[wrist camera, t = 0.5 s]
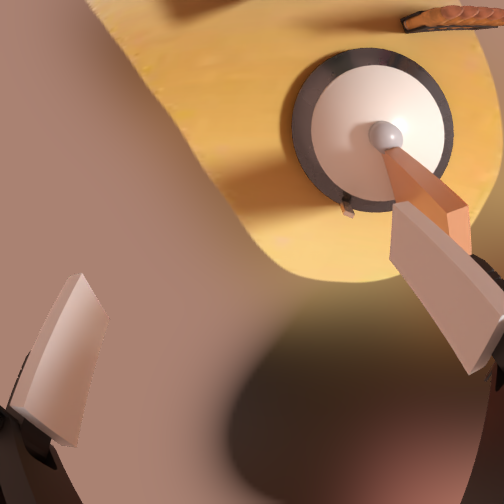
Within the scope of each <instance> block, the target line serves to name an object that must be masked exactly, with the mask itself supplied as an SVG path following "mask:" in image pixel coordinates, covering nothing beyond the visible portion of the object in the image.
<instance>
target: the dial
mask: <svg viewBox="0 0 504 504" xmlns="http://www.w3.org/2000/svg"><path fill="white" fill-rule="evenodd" d="M311 136H312V143H313V147H314V151H315V154H316V156H317V159H318V161H319V163H320V165H321V167H322V169H323V170H324V171H325V173H326V174H327V176H328V177H329V178H330V179H331V180H332V181H333V182H334V183H335V184H336V185H337V186H338V187H340V188H341V189H343V190H344V191H346V192H347V193H349V194H351V195H353V196H356V197H358V198H361V199H365V200H370V201H390V200H395V201H396V203H400V202H405V201H409V202H410V203H411V204H412V205H414V206H415V207H416V208H417V209H418V210H420V211H421V212H422V213H423V214H424V215H426V216H427V217H428V218H429V219H430V220H431V221H433V222H434V223H435V224H436V225H437V226H438V227H439V228H441V229H442V230H443V231H444V232H445V233H446V234H447V235H448V236H449V237H450V238H452V239H453V240H454V241H455V242H456V243H457V244H458V245H459V246H460V247H461V248H462V249H463V250H464V251H465V252H466V253H467V254H468V255H472V254H471V232H470V218H469V208H468V205H467V204H466V203H465V202H464V201H463V200H462V199H461V198H460V197H459V196H458V195H457V194H456V193H454V192H453V191H452V190H451V189H450V188H449V187H448V186H447V185H446V184H444V183H443V182H442V181H441V180H440V179H439V178H437V177H436V176H435V175H434V174H433V173H434V171H435V169H436V168H437V166H438V163H439V161H440V159H441V155H442V152H443V147H444V125H443V120H442V116H441V113H440V110H439V108H438V106H437V104H436V102H435V100H434V98H433V97H432V95H431V94H430V92H429V91H428V90H427V89H426V88H425V87H424V86H423V85H422V84H421V83H420V82H419V81H418V80H417V79H415V78H414V77H412V76H411V75H409V74H407V73H405V72H403V71H401V70H399V69H396V68H393V67H388V66H381V65H370V66H362V67H358V68H354V69H351V70H349V71H346V72H344V73H343V74H341V75H339V76H338V77H336V78H335V79H334V80H333V81H332V82H330V84H329V85H328V86H327V87H326V88H325V89H324V91H323V92H322V94H321V95H320V97H319V99H318V101H317V103H316V105H315V108H314V111H313V116H312V121H311Z"/></svg>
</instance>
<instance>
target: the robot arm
mask: <svg viewBox="0 0 504 504" xmlns="http://www.w3.org/2000/svg"><path fill="white" fill-rule="evenodd" d="M389 260H390V261H391V262H392V263H393V265H394V266H395V267H396V269H397V270H398V271H399V272H400V274H401V275H402V276H403V278H404V279H405V280H406V282H407V283H408V284H409V286H410V287H411V289H412V290H413V291H414V292H415V294H416V295H417V297H418V298H419V300H420V301H421V302H422V304H423V305H424V306H425V308H426V309H427V311H428V312H429V314H430V315H431V317H432V318H433V319H434V321H435V323H436V324H437V326H438V327H439V329H440V330H441V332H442V333H443V335H444V336H445V338H446V339H447V341H448V342H449V344H450V345H451V347H452V349H453V350H454V352H455V353H456V355H457V357H458V358H459V360H460V361H461V363H462V365H463V366H464V368H465V370H466V372H467V373H468V375H470V374H472V373H473V372H475V371H477V370H479V369H481V368H482V367H484V366H485V365H486V363H487V362H488V360H489V359H490V357H491V355H492V356H493V358H494V359H495V363H494V364H493V366H492V367H491V369H490V370H489V372H488V373H487V375H486V376H485V380H484V381H487V380H488V379H489V377H490V376H491V374H492V378H491V381H490V382H491V386H490V394H489V400H488V406H487V412H486V417H485V422H484V428H483V432H482V436H481V441H480V445H479V448H478V452H477V456H476V459H475V463H474V466H473V469H472V473H471V476H470V479H469V482H468V485H467V487H466V490H465V493H464V496H463V498H462V501H461V503H460V504H504V280H503V279H501V277H500V276H499V275H498V273H497V272H494V269H493V268H492V267H491V266H490V265H489V264H488V263H487V262H486V261H485V260H483V259H481V258H479V257H477V256H476V255H474V254H472V255H468V254H467V253H466V252H465V251H464V250H463V249H462V248H461V247H460V246H459V245H458V244H457V243H456V242H455V241H454V240H453V239H452V238H450V237H449V236H448V235H447V234H446V233H445V232H444V231H443V230H442V229H441V228H439V227H438V226H437V225H436V224H435V223H434V222H433V221H431V220H430V219H429V218H428V217H427V216H426V215H424V214H423V213H422V212H421V211H420V210H418V209H417V208H416V207H415V206H414V205H412V204H411V203H410V202H409V201H405V202H400V203H395V204H393V212H392V231H391V246H390V258H389ZM109 320H110V318H109V317H108V315H107V313H106V312H105V310H104V309H103V307H102V306H101V304H100V302H99V301H98V299H97V298H96V296H95V294H94V293H93V291H92V289H91V287H90V286H89V284H88V282H87V280H86V279H85V277H84V275H83V273H80V274H76V275H72V276H69V278H68V279H67V281H66V283H65V285H64V286H63V288H62V290H61V292H60V294H59V295H58V297H57V299H56V301H55V303H54V305H53V307H52V309H51V310H50V312H49V314H48V316H47V318H46V320H45V322H44V324H43V326H42V328H41V330H40V333H39V334H38V337H37V339H36V341H35V343H34V346H33V348H32V350H31V351H30V352H29V354H28V355H27V356H26V358H25V361H24V363H23V365H22V370H20V373H19V375H18V377H19V378H17V380H16V383H15V385H14V388H13V390H12V393H11V396H10V399H9V402H8V405H7V407H6V410H5V409H4V408H3V407H1V406H0V504H83V503H82V501H81V500H80V498H79V496H78V494H77V492H76V491H75V489H74V487H73V485H72V483H71V481H70V479H69V477H68V475H67V473H66V471H65V469H64V467H63V465H62V463H61V460H60V458H59V456H58V454H57V451H56V450H55V448H54V447H53V446H52V445H51V444H50V441H51V438H52V439H53V440H55V441H56V442H57V443H59V444H60V445H62V446H69V447H77V443H78V437H79V432H80V427H81V423H82V418H83V413H84V409H85V405H86V400H87V396H88V392H89V388H90V384H91V381H92V377H93V373H94V369H95V366H96V362H97V359H98V355H99V352H100V349H101V345H102V342H103V339H104V335H105V332H106V329H107V326H108V323H109Z"/></svg>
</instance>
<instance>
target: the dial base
mask: <svg viewBox="0 0 504 504" xmlns="http://www.w3.org/2000/svg"><path fill="white" fill-rule="evenodd" d="M370 65H381V66H388V67H393V68H396V69H399V70H401V71H403V72H405V73H407V74H409V75H411V76H412V77H414V78H415V79H417V80H418V81H419V82H420V83H421V84H422V85H423V86H424V87H425V88H426V89H427V90H428V91H429V92H430V94H431V95H432V97H433V98H434V100H435V102H436V104H437V106H438V108H439V110H440V113H441V116H442V120H443V125H444V147H443V152H442V155H441V159H440V161H439V163H438V166H437V168H436V169H435V171H434V173H433V174H434V175H435V176H436V177H437V178H439V179H440V178H441V176H442V175H443V173H444V171H445V169H446V167H447V165H448V162H449V159H450V156H451V152H452V147H453V137H454V132H453V121H452V115H451V111H450V108H449V105H448V102H447V100H446V98H445V96H444V94H443V92H442V90H441V89H440V87H439V85H438V84H437V83H436V81H435V80H434V79H433V78H432V76H431V75H430V74H429V73H428V72H427V71H426V70H425V69H424V68H422V67H421V66H420V65H418V64H417V63H416V62H414V61H412V60H411V59H409V58H407V57H405V56H403V55H401V54H398V53H396V52H393V51H389V50H385V49H378V48H359V49H353V50H349V51H346V52H343V53H340V54H337V55H335V56H334V57H332V58H330V59H328V60H326V61H325V62H324V63H322V64H321V65H319V66H318V67H317V68H316V69H315V70H314V71H313V72H312V73H311V74H310V75H309V77H308V78H307V79H306V81H305V82H304V84H303V85H302V87H301V89H300V91H299V93H298V96H297V98H296V101H295V105H294V109H293V114H292V138H293V143H294V148H295V151H296V154H297V157H298V160H299V162H300V164H301V166H302V168H303V170H304V172H305V173H306V175H307V176H308V178H309V179H310V180H311V181H312V183H313V184H314V185H315V186H316V187H317V188H318V189H319V190H320V191H321V192H322V193H323V194H325V195H326V196H328V197H329V198H330V199H332V200H333V201H335V202H337V203H339V204H340V206H341V210H342V213H343V215H346V216H348V217H350V218H353V217H354V215H355V214H354V211H353V209H355V210H358V211H364V212H388V211H393V204H395V203H396V201H395V200H390V201H370V200H365V199H361V198H358V197H356V196H353V195H351V194H349V193H347V192H346V191H344V190H343V189H341V188H340V187H338V186H337V185H336V184H335V183H334V182H333V181H332V180H331V179H330V178H329V177H328V176H327V174H326V173H325V171H324V170H323V169H322V167H321V165H320V163H319V161H318V159H317V156H316V154H315V151H314V147H313V143H312V136H311V121H312V116H313V111H314V108H315V105H316V103H317V101H318V99H319V97H320V95H321V94H322V92H323V91H324V89H325V88H326V87H327V86H328V85H329V84H330V82H332V81H333V80H334V79H335V78H336V77H338V76H339V75H341V74H343V73H344V72H346V71H349V70H351V69H354V68H358V67H362V66H370Z"/></svg>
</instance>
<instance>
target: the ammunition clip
mask: <svg viewBox="0 0 504 504" xmlns="http://www.w3.org/2000/svg"><path fill="white" fill-rule="evenodd" d="M400 20H401V22H402V25H403V27H404V30H405V33H407V34H408V33H418V32H429V31H445V30H479V29H488V28H497V27H498V26H504V10H503V9H499V8H488V7H474V6H462V7H460V6H455V5H451V6H445V7H441V8H433V9H430V10H427V11H418V12H416V13H414V14H411V15H409V16H407V17H404V18H402V19H400Z"/></svg>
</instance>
